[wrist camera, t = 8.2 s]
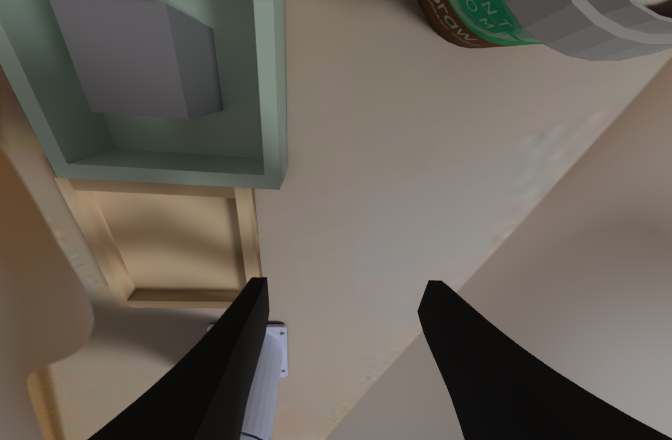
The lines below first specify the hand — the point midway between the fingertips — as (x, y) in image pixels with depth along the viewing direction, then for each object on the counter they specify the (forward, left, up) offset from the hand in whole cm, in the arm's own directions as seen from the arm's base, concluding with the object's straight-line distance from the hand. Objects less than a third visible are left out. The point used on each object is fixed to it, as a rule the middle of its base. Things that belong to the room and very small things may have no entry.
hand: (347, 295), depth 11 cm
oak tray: (-4, +12, -9) cm, 16 cm away
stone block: (+8, +9, -9) cm, 15 cm away
